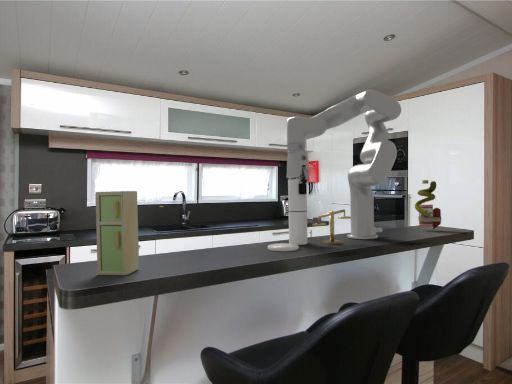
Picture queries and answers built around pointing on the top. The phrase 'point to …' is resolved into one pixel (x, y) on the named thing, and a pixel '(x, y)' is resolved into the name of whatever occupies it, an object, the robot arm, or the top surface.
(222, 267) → the top surface
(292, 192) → the cylindrical container
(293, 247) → the dish
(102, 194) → the toy refrigerator
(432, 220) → the snake in a can
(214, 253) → the top surface
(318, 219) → the balance
